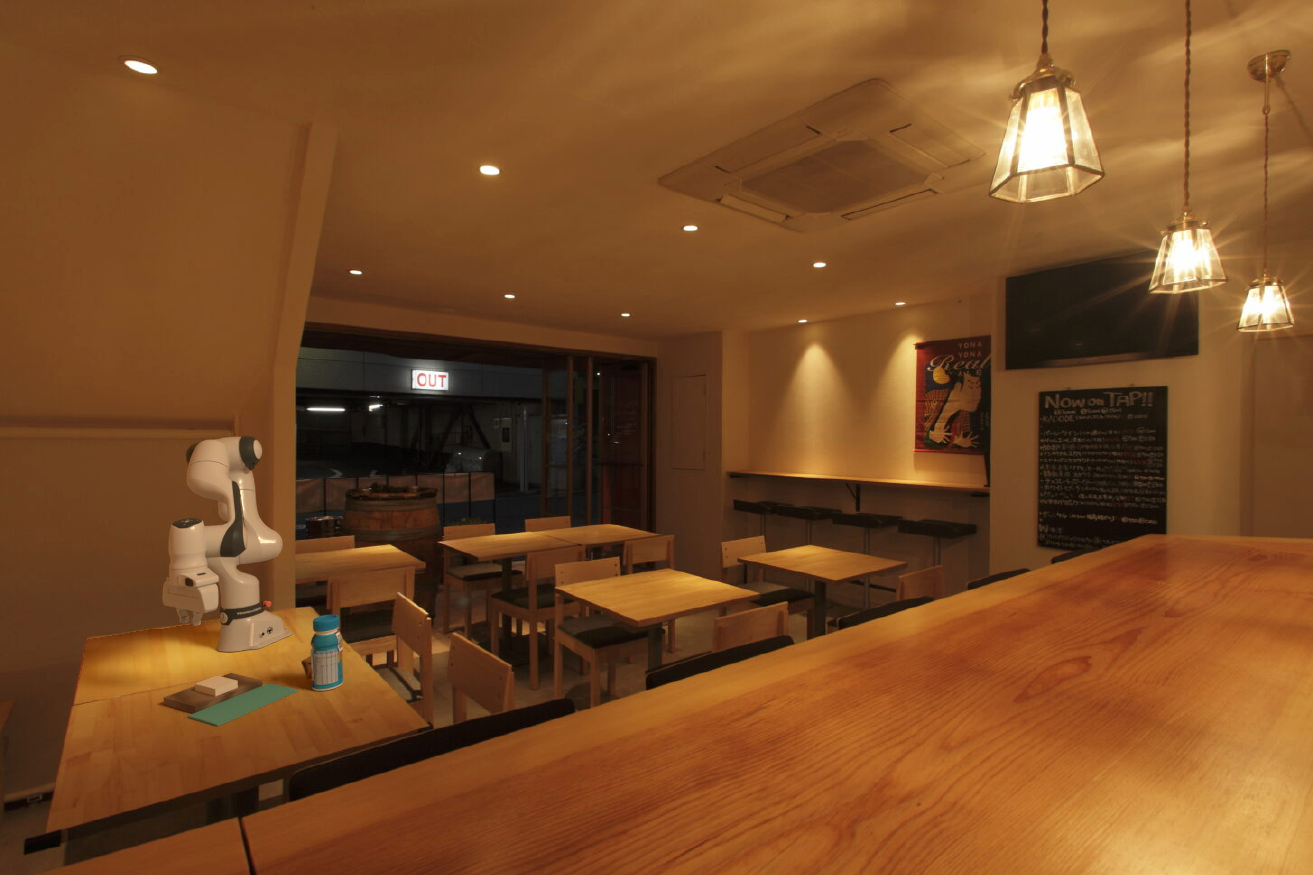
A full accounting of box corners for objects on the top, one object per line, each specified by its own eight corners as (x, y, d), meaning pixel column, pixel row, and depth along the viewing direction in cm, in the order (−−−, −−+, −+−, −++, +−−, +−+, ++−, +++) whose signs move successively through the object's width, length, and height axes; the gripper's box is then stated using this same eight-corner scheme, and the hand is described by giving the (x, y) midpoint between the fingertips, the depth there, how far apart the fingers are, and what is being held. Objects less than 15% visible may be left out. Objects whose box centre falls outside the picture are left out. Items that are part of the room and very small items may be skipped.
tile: (217, 682, 181) (217, 675, 181) (237, 687, 177) (237, 680, 177) (195, 690, 176) (194, 683, 175) (215, 696, 172) (215, 689, 172)
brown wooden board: (231, 679, 188) (231, 672, 188) (262, 686, 182) (262, 680, 182) (163, 704, 171) (163, 697, 171) (195, 713, 166) (195, 706, 166)
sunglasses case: (299, 660, 202) (310, 640, 204) (320, 667, 205) (331, 647, 207) (307, 679, 187) (319, 658, 189) (330, 686, 191) (342, 664, 193)
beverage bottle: (321, 694, 177) (319, 624, 176) (305, 687, 181) (303, 619, 181) (350, 683, 184) (348, 616, 183) (333, 677, 189) (331, 611, 188)
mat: (269, 684, 184) (269, 682, 184) (297, 691, 179) (297, 689, 179) (188, 717, 164) (188, 715, 164) (217, 726, 159) (217, 724, 159)
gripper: (154, 575, 181) (156, 622, 182) (199, 582, 173) (200, 631, 173) (178, 570, 187) (180, 616, 187) (222, 576, 179) (224, 624, 179)
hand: (190, 623), depth 180 cm, fingers open, 4 cm apart
